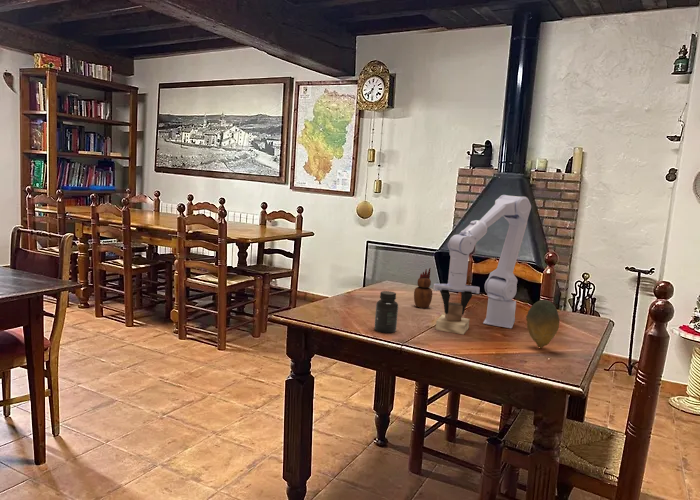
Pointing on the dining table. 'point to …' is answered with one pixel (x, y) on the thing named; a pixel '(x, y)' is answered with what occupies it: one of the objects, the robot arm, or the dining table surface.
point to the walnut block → (454, 312)
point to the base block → (452, 325)
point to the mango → (542, 322)
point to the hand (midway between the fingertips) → (453, 313)
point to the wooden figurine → (423, 291)
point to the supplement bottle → (386, 313)
